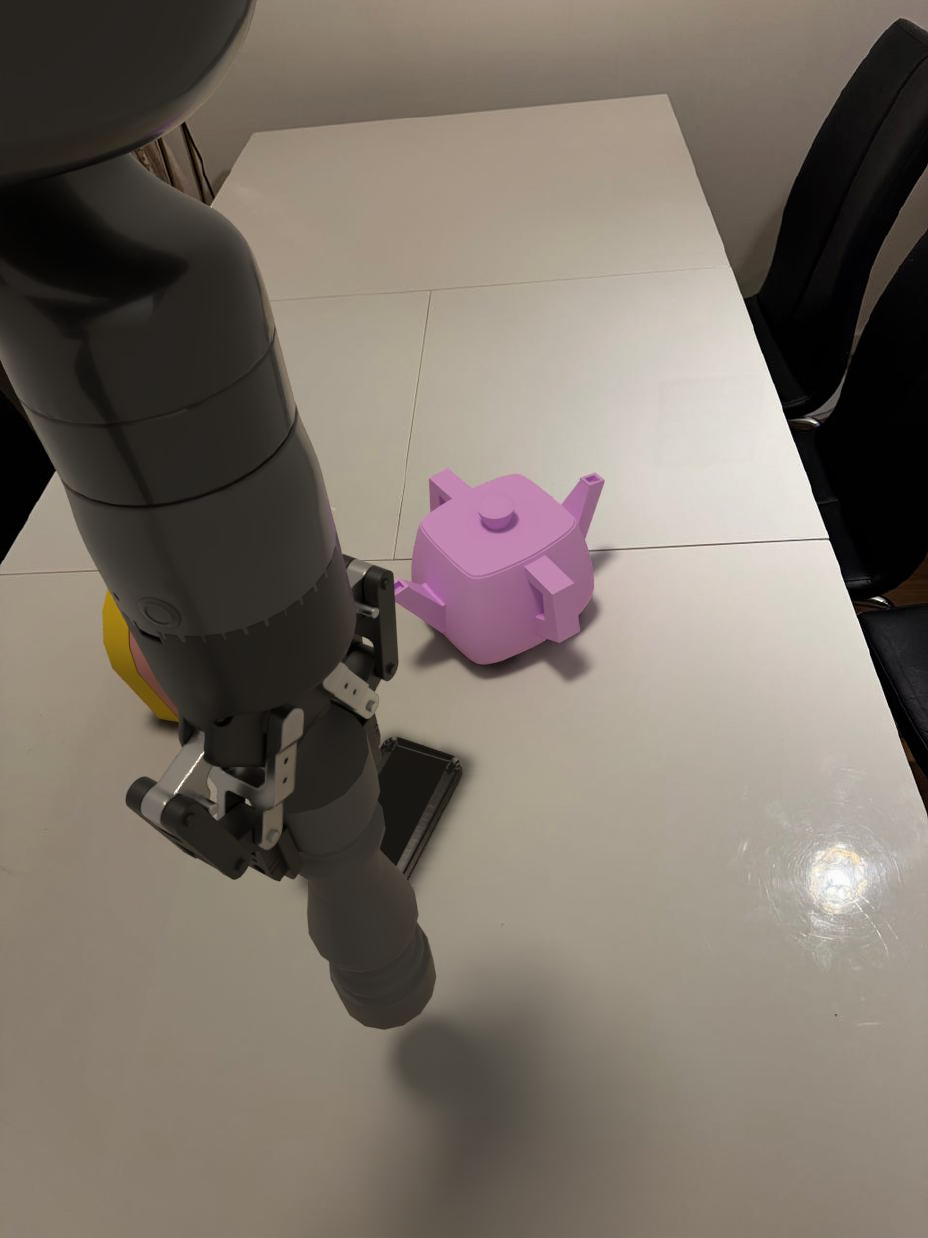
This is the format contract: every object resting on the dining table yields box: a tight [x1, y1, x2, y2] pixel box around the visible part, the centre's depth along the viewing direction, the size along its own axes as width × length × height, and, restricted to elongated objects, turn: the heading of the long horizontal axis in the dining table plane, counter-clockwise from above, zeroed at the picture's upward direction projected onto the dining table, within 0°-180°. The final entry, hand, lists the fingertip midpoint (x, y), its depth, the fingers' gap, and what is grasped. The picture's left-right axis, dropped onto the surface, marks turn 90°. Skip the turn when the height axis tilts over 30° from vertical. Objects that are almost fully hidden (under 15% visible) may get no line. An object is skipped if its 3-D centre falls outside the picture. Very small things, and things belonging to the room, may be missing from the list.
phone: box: [376, 736, 462, 880], centre depth 80 cm, size 8×1×15 cm
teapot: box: [394, 467, 606, 665], centre depth 90 cm, size 19×18×15 cm
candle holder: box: [247, 704, 437, 1031], centre depth 48 cm, size 6×6×25 cm
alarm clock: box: [101, 587, 179, 723], centre depth 86 cm, size 15×8×18 cm, turn 164°
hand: (322, 809), depth 42 cm, fingers closed on candle holder, 5 cm apart
